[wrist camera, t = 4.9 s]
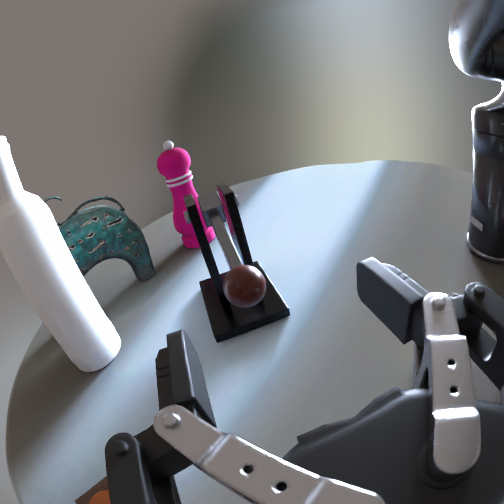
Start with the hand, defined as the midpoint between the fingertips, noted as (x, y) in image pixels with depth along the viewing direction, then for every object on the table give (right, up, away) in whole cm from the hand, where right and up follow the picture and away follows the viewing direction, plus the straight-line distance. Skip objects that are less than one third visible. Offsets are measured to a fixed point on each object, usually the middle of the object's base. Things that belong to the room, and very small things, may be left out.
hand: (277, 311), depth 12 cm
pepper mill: (-11, +5, +45) cm, 46 cm away
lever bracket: (-3, -4, +26) cm, 26 cm away
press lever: (-3, +2, +17) cm, 18 cm away
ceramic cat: (-25, -5, +34) cm, 43 cm away
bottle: (-22, -11, +23) cm, 33 cm away
